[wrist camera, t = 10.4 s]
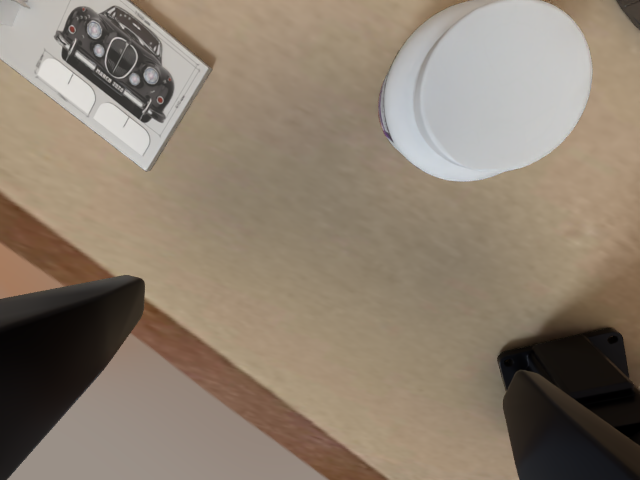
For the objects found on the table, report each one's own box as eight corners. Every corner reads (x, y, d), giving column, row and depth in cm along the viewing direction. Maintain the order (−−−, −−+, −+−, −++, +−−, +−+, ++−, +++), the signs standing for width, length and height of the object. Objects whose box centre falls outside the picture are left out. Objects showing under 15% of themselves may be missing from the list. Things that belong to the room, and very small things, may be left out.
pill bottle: (514, 103, 18) (677, 89, 8) (426, 181, 19) (483, 241, 10) (440, 15, 17) (531, -106, 8) (354, 104, 18) (346, 93, 9)
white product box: (-89, -15, 19) (-218, -52, 15) (-51, -150, 17) (-187, -238, 13) (150, 170, 21) (95, 184, 17) (212, 68, 19) (168, 54, 15)
